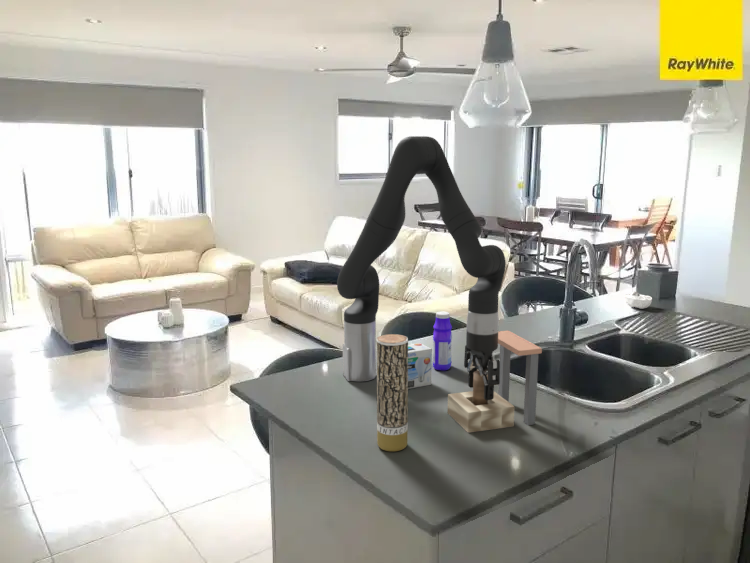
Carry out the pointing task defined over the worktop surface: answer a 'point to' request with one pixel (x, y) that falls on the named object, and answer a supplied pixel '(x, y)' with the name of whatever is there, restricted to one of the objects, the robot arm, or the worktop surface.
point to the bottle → (442, 341)
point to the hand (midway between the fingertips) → (480, 393)
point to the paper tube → (392, 392)
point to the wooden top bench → (531, 351)
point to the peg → (478, 389)
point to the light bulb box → (419, 365)
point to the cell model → (638, 300)
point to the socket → (480, 412)
